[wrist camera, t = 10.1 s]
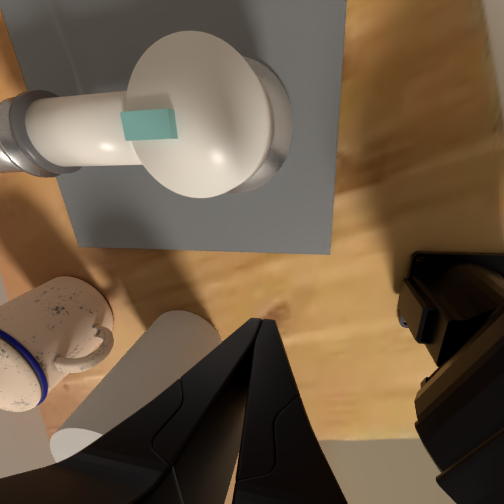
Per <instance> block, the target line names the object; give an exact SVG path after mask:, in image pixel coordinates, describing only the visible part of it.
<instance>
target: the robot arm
mask: <svg viewBox="0 0 504 504" xmlns="http://www.w3.org/2000/svg"><path fill="white" fill-rule="evenodd" d="M418 257H422V259H421V260H419V261H417V260H416V259H417V258H418ZM398 309H399V310H400V315H399V322H400V324H401V326H402V327H405V328H409V329H410V331H411V333H412V335H413V337H414V339H415V340H416V341H417V342H418V343H420V344H425V346H426V348H427V349H428V351H429V353H430V355H431V356H432V358H433V360H434V362H435V364H436V365H437V366H438V367H439V368H438V369H437V370H436V371H435V372H434V373H433V374H432V375H431V376H430V377H429V378H428V377H426V378H425V379H424V380H423V381H422V382H421V389H420V390H419V391H418V392H417V395H416V398H415V401H414V402H415V408H416V415H417V419H418V420H417V421H416V422H415V428H416V431H417V433H418V435H419V437H420V439H421V441H422V443H423V446H424V447H425V449H426V451H427V452H428V454H429V455H430V457H431V458H432V460H433V462H434V463H435V465H436V466H437V467H438V469H439V470H440V472H441V474H440V475H438V476H437V477H436V481H437V483H438V485H439V486H440V487H441V488H442V489H443V490H444V491H445V492H446V493H447V494H448V495H449V496H450V497H451V498H452V499H453V500H454V501H455V502H456V503H457V504H504V253H468V252H431V251H417V252H415V253H413V254H412V255H411V258H410V263H409V268H408V274H407V277H406V278H404V279H403V281H402V286H401V291H400V296H399V302H398ZM404 321H405V322H404ZM180 379H181V380H180ZM180 379H177V380H176V381H175V382H174V383H173V384H171V385H170V386H169V387H168V388H167V389H165V390H164V391H163V392H162V393H160V394H159V395H158V396H157V397H155V398H154V399H153V400H151V401H150V402H149V403H147V404H146V405H145V406H143V407H142V408H140V409H139V410H138V411H136V412H135V413H134V414H132V415H131V416H129V417H128V418H127V419H125V420H124V421H122V422H121V423H119V424H118V425H117V426H115V427H114V428H112V429H111V430H109V431H108V432H107V433H105V434H104V435H102V436H101V437H99V438H98V439H97V440H95V441H94V442H92V443H91V444H90V445H88V446H87V447H85V448H84V449H82V450H81V451H79V452H77V453H76V454H74V455H72V456H70V457H68V458H66V459H64V460H62V461H60V462H58V463H55V464H53V465H49V466H46V467H43V468H39V469H35V470H31V471H27V472H23V473H20V474H16V475H12V476H8V477H5V478H0V504H224V502H225V499H226V495H227V492H228V489H229V485H230V481H231V478H232V474H233V471H234V467H235V464H236V460H237V457H238V453H239V458H238V466H237V472H236V483H235V488H234V494H233V500H232V504H348V503H347V501H346V499H345V497H344V495H343V493H342V491H341V489H340V486H339V484H338V482H337V480H336V478H335V476H334V474H333V472H332V470H331V468H330V466H329V464H328V462H327V460H326V458H325V455H324V453H323V451H322V449H321V447H320V445H319V443H318V440H317V438H316V436H315V434H314V431H313V429H312V427H311V424H310V421H309V419H308V416H307V413H306V411H305V408H304V405H303V402H302V399H301V397H300V393H299V390H298V387H297V384H296V381H295V378H294V375H293V372H292V369H291V366H290V363H289V360H288V357H287V354H286V351H285V348H284V345H283V342H282V339H281V336H280V333H279V330H278V327H277V324H276V321H275V320H272V319H264V320H262V319H260V318H250V319H249V320H248V321H247V322H245V323H244V324H243V325H242V326H241V327H239V328H238V329H237V330H236V331H235V332H234V333H232V334H231V335H230V336H229V337H228V338H226V339H225V340H224V341H223V342H222V343H220V344H219V345H218V346H217V347H216V348H214V349H213V350H212V351H211V352H210V353H209V354H207V355H206V356H205V357H204V358H203V359H201V360H200V361H199V362H198V363H197V364H195V365H194V366H193V367H192V368H191V369H189V370H188V371H187V372H186V373H185V374H183V375H182V376H181V377H180ZM239 449H240V450H239Z"/></svg>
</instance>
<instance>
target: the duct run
mask: <svg viewBox="0 0 504 504" xmlns="http://www.w3.org/2000/svg"><path fill="white" fill-rule="evenodd" d="M14 99H15V97H12V98H8V99H5V100H3V101H2V102H0V173H10V172H26V173H28V174H30V175H33V176H37V177H44V178H46V177H56V176H59V175H61V174H57V173H51V172H48V171H46V170H43V169H41V168H40V167H38V166H37V165H35V164H34V163H33V162H31V161H30V160H29V159H28V158H27V157H26V156H25V155H24V154H23V152H22V151H21V150H20V148H19V147H18V145H17V143H16V142H15V140H14V138H13V135H12V133H11V129H10V125H9V109H10V106H11V103H12V101H13V100H14Z"/></svg>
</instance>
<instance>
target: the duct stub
mask: <svg viewBox="0 0 504 504" xmlns="http://www.w3.org/2000/svg"><path fill="white" fill-rule="evenodd" d="M242 57H243V58H244V60H245V61H246V62H247V63H248V65H249V66H250V67H251V68H252V70H253V71H254V72H255V73H256V75H257V76H258V77H259V79H260V80H261V81H262V83H263V85H264V86H265V88H266V90H267V92H268V95H269V97H270V100H271V103H272V107H273V113H274V136H273V142H272V145H271V149H270V152H269V154H268V156H267V158H266V160H265V162H264V163H263V165H262V166H261V168H260V169H259V170H258V171H257V172H256V173H255V174H254V175H253V176H252V177H251V178H250V179H248V180H247V181H246V182H244V183H242V184H240V185H238V186H236V187H235V188H233V189H231V190H229V191H227V192H226V193H244V192H248V191H251V190H254V189H257V188H258V187H260V186H262V185H264V184H265V183H266V182H268V181H269V180H270V179H271V178H272V177H273V176H275V175H276V173H277V172H278V171H279V170H280V168H281V167H282V165H283V164H284V162H285V160H286V158H287V156H288V154H289V151H290V147H291V144H292V139H293V130H294V122H293V113H292V107H291V104H290V101H289V98H288V96H287V93H286V91H285V89H284V87H283V86H282V84H281V82H280V81H279V80H278V78H277V77H276V76H275V75H274V74H273V73H272V72H271V71H270V70H269V69H268V68H267V67H266V66H264V65H263V64H261V63H260V62H258V61H256V60H253V59H251V58H248V57H244V56H242Z"/></svg>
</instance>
